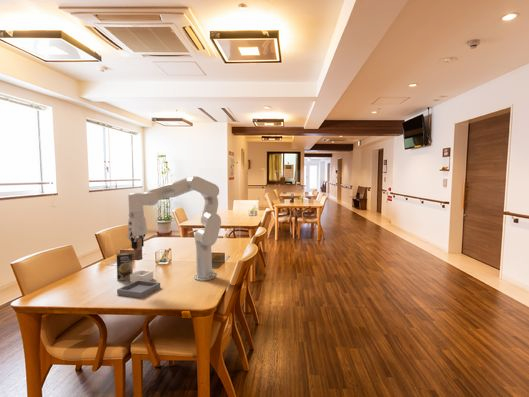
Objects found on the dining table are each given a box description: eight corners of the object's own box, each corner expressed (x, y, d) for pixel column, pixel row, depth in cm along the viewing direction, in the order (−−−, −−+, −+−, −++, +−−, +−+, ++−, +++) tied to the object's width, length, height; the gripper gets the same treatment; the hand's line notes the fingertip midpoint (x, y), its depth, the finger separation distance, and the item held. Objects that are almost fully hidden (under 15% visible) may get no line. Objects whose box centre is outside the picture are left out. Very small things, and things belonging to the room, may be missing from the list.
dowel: (144, 258, 171) (143, 237, 170) (138, 260, 167) (137, 239, 166) (137, 257, 173) (136, 237, 172) (132, 259, 169) (131, 238, 168)
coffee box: (117, 281, 188) (116, 255, 187) (117, 278, 194) (115, 253, 192) (133, 278, 192) (132, 253, 191) (132, 275, 198) (131, 251, 197)
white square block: (153, 278, 192) (153, 271, 191) (142, 283, 183) (142, 275, 182) (141, 277, 195) (140, 269, 194) (130, 282, 186) (129, 274, 185)
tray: (160, 287, 176) (160, 282, 176) (141, 298, 161) (141, 292, 161) (137, 284, 181) (137, 279, 181) (117, 294, 166) (117, 289, 166)
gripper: (130, 217, 159) (132, 251, 160) (152, 213, 175) (153, 244, 176) (119, 216, 161) (120, 250, 163) (141, 213, 177) (142, 243, 179)
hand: (137, 247), depth 169 cm, fingers closed on dowel, 4 cm apart
